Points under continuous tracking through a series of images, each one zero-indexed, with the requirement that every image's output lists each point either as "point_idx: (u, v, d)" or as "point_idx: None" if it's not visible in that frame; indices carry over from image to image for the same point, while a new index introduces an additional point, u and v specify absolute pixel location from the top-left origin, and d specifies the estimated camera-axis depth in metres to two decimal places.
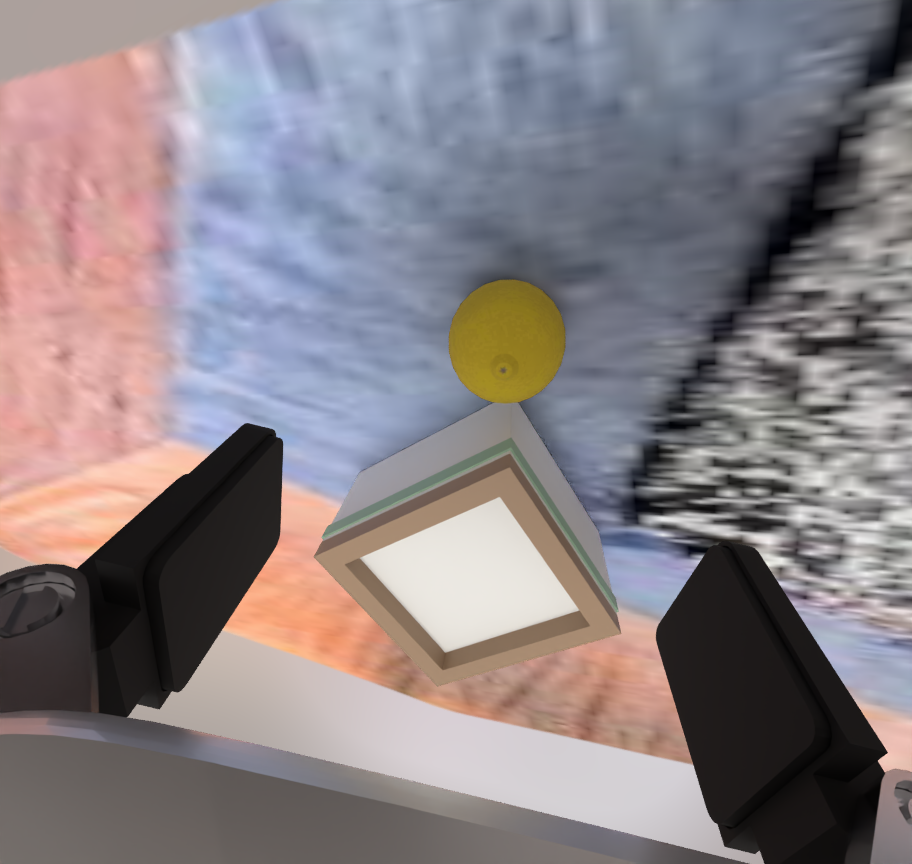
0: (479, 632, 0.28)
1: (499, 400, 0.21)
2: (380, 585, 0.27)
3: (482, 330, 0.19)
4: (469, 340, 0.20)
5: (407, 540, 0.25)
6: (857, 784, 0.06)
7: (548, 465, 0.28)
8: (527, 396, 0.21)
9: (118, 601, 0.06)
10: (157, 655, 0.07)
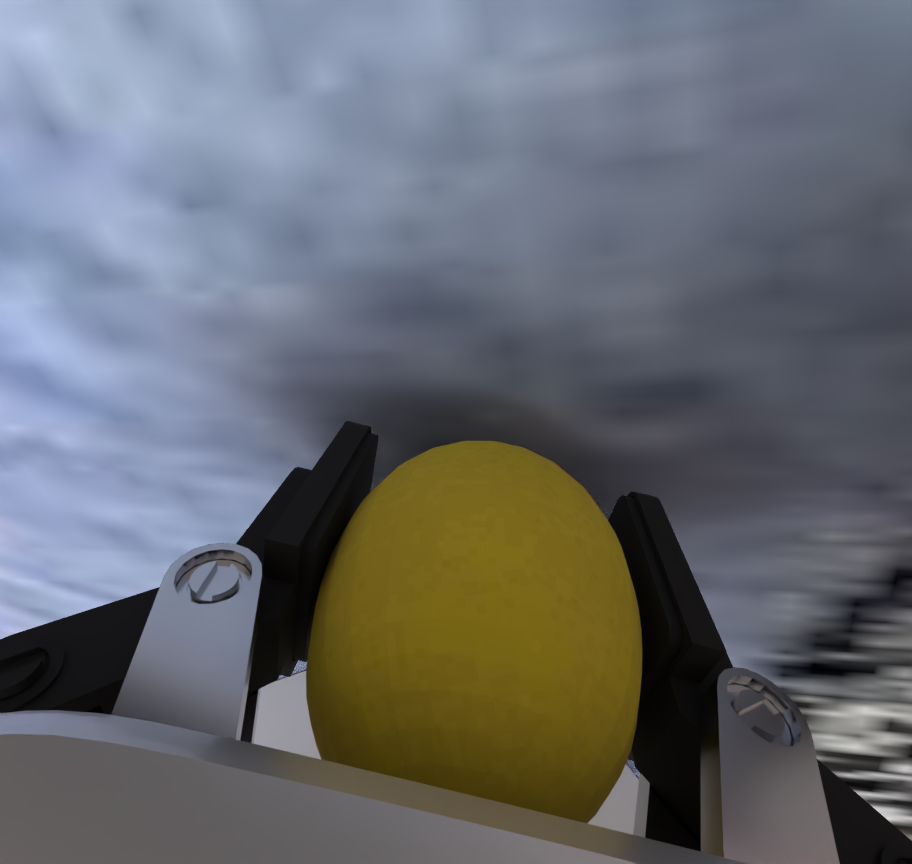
0: None
1: None
2: None
3: (373, 722, 0.05)
4: (335, 732, 0.06)
5: None
6: (709, 685, 0.07)
7: None
8: None
9: (277, 576, 0.07)
10: (297, 626, 0.08)
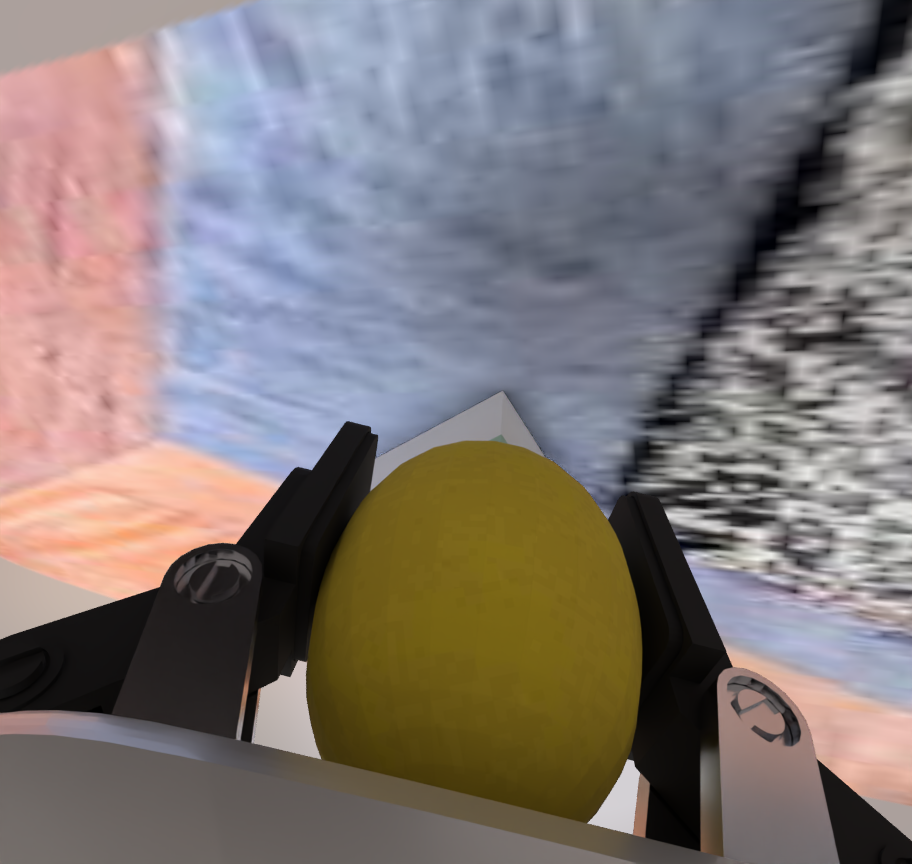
0: None
1: None
2: None
3: (373, 722, 0.05)
4: (336, 732, 0.06)
5: None
6: (709, 685, 0.07)
7: None
8: None
9: (277, 576, 0.07)
10: (297, 626, 0.08)
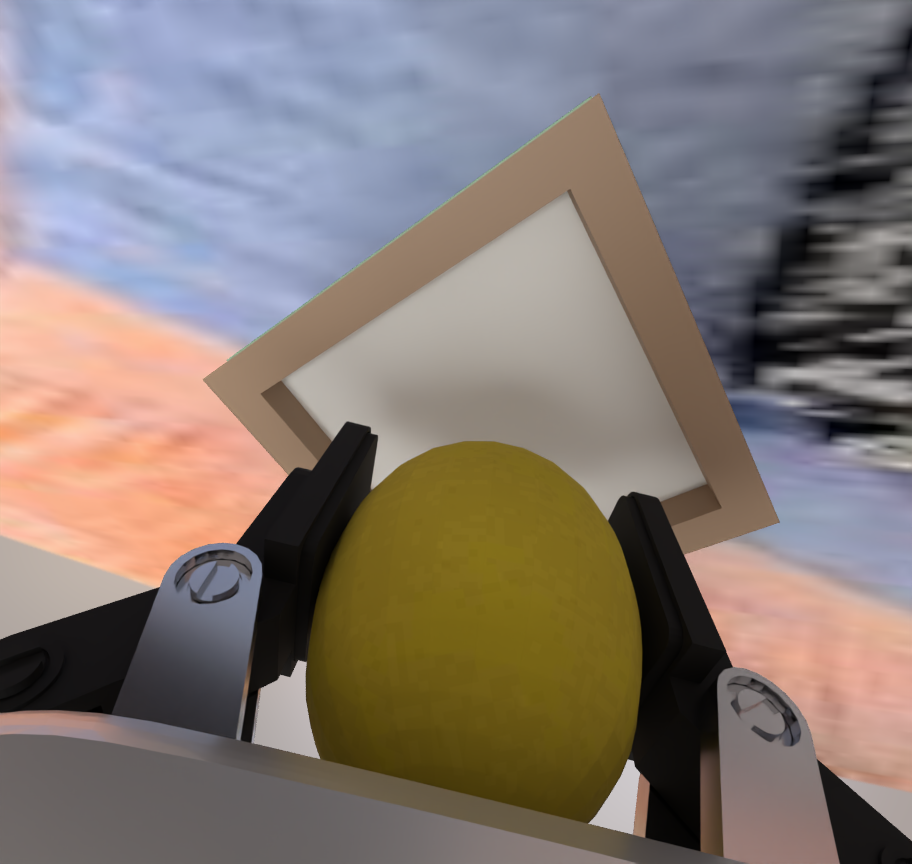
0: None
1: None
2: None
3: (373, 723, 0.05)
4: (335, 733, 0.06)
5: (378, 352, 0.14)
6: (709, 685, 0.07)
7: None
8: None
9: (277, 576, 0.07)
10: (297, 627, 0.08)
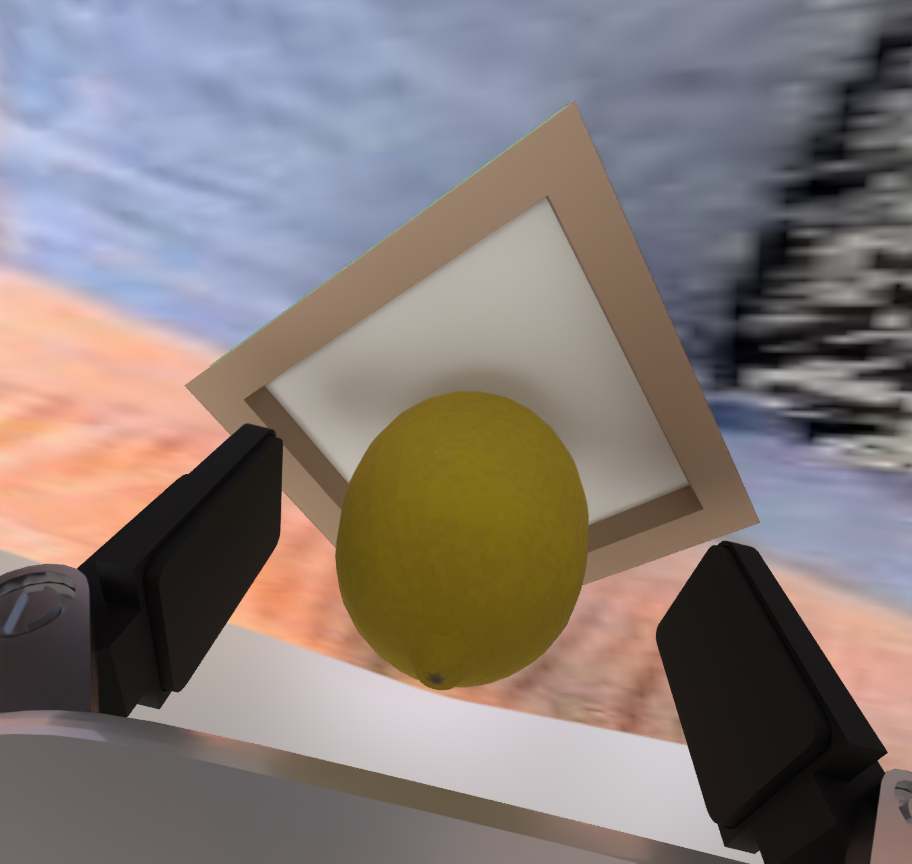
0: None
1: None
2: (319, 456, 0.15)
3: (387, 566, 0.08)
4: (360, 579, 0.08)
5: (362, 357, 0.14)
6: (857, 784, 0.06)
7: None
8: None
9: (118, 601, 0.06)
10: (157, 655, 0.07)
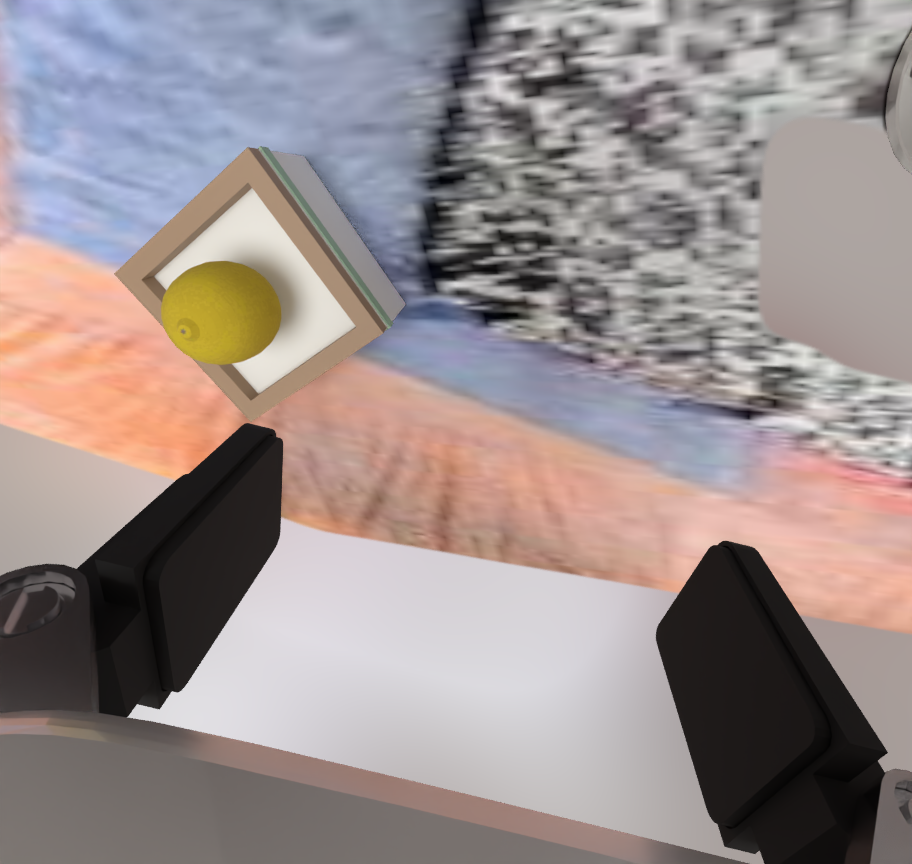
0: (281, 364, 0.32)
1: (204, 360, 0.25)
2: None
3: (170, 299, 0.23)
4: (163, 308, 0.24)
5: (197, 261, 0.29)
6: (857, 783, 0.06)
7: (336, 216, 0.32)
8: (227, 356, 0.25)
9: (118, 601, 0.06)
10: (157, 655, 0.07)
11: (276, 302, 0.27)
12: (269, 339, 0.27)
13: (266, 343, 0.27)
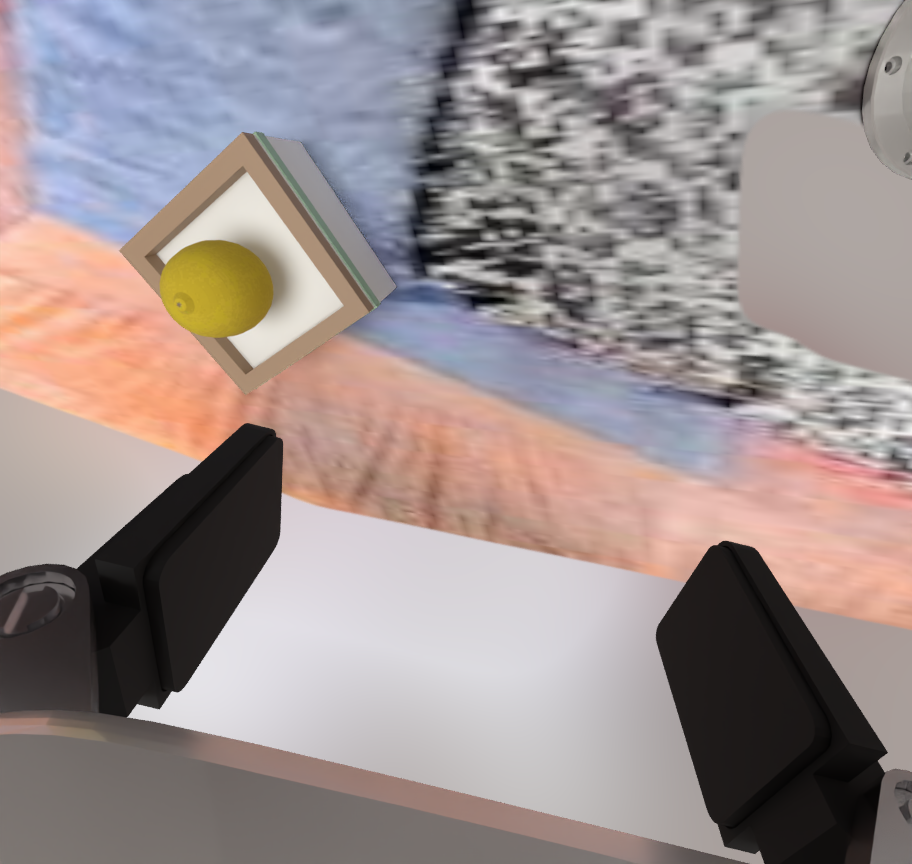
0: (274, 341, 0.34)
1: (199, 333, 0.27)
2: None
3: (167, 274, 0.25)
4: (161, 283, 0.25)
5: (197, 240, 0.31)
6: (857, 783, 0.06)
7: (329, 200, 0.34)
8: (220, 329, 0.27)
9: (118, 601, 0.06)
10: (157, 655, 0.07)
11: (268, 280, 0.29)
12: (261, 315, 0.28)
13: (258, 319, 0.29)
